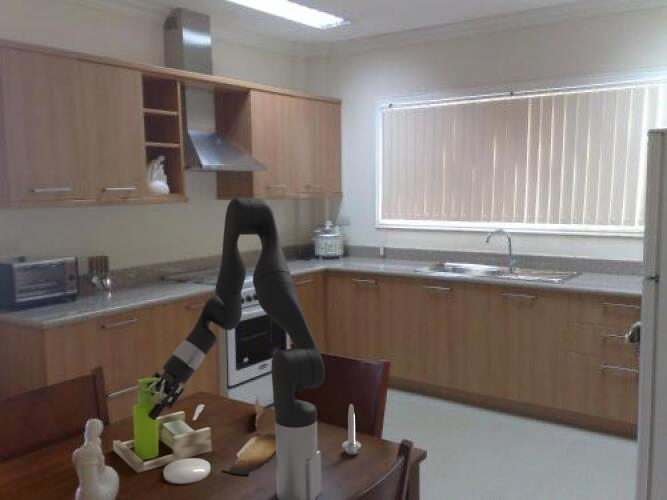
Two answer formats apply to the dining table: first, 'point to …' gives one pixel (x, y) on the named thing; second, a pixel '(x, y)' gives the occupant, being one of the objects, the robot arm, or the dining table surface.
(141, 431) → the soap dispenser
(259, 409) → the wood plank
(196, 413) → the butter knife
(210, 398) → the dining table surface
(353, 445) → the screw
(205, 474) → the ceramic trivet
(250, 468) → the parchment
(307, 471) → the robot arm
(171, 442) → the offcut rack
